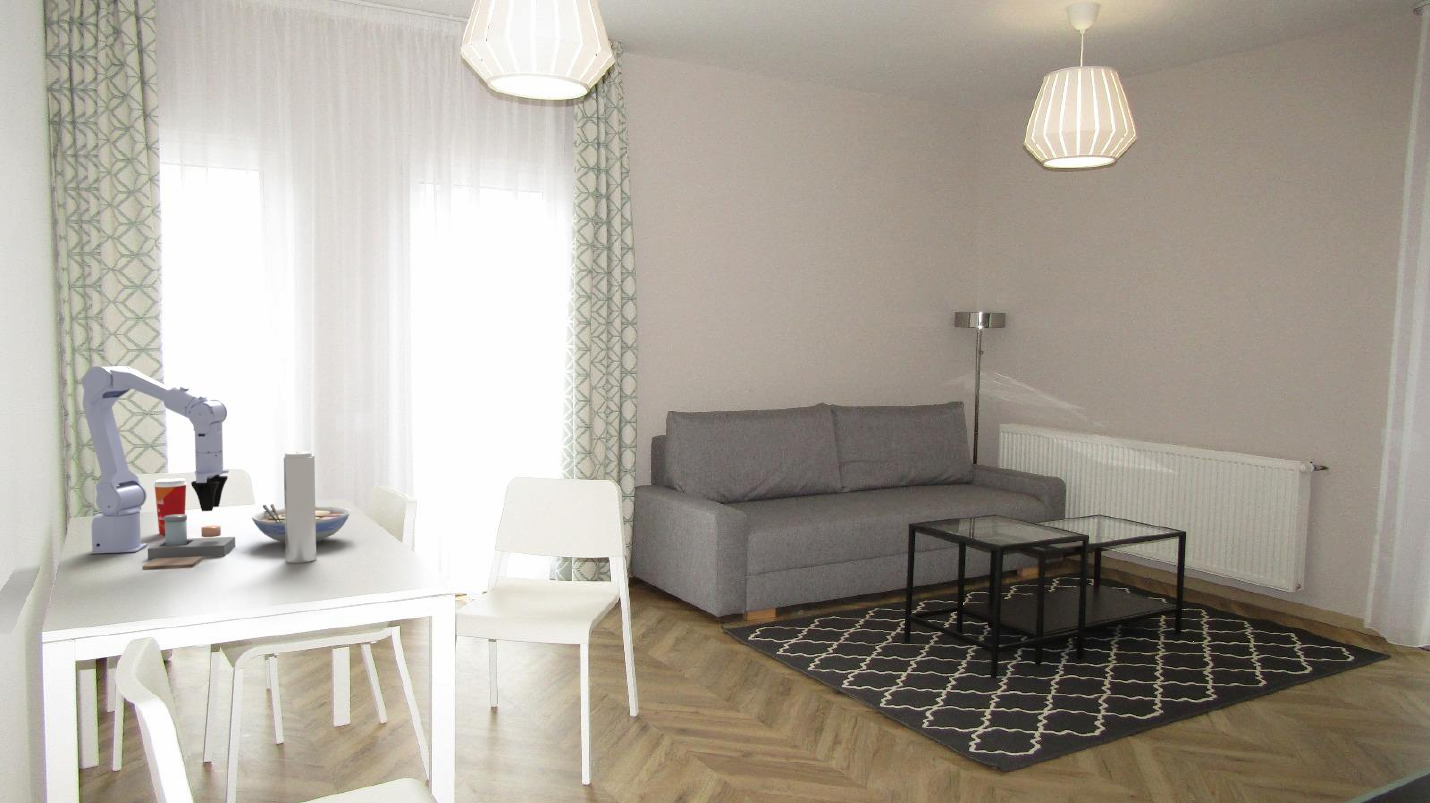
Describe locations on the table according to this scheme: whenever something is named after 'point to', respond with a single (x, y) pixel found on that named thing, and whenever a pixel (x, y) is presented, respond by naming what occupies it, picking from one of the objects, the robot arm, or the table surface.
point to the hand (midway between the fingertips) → (210, 508)
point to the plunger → (211, 531)
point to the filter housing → (193, 548)
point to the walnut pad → (172, 562)
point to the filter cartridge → (175, 530)
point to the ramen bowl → (326, 516)
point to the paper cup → (169, 499)
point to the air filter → (299, 507)
